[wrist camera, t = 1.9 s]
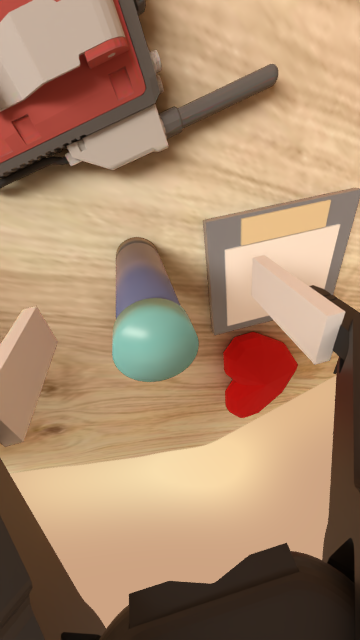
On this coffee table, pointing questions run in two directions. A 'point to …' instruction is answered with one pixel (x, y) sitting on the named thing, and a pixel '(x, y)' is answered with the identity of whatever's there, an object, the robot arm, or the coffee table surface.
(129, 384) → the coffee table surface
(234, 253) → the clipboard
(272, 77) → the walkie-talkie
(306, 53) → the coffee table surface
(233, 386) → the heart
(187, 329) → the marker
